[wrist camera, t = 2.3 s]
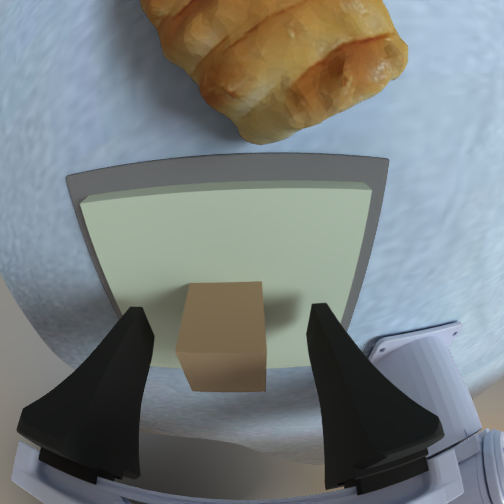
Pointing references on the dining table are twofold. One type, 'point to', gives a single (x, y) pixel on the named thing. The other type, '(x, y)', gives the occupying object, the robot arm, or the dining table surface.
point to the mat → (240, 170)
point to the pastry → (280, 57)
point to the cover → (230, 269)
